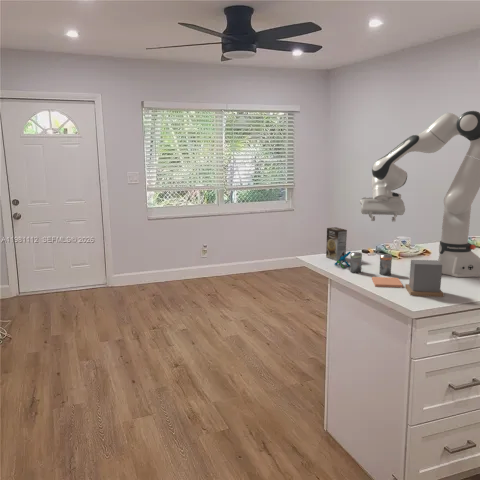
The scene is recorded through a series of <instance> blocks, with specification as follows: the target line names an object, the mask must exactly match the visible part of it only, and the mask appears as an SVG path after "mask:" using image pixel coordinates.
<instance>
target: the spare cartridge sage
mask: <svg viewBox="0 0 480 480" xmlns="http://www.w3.org/2000/svg"><path fill="white" fill-rule="evenodd" d="M349 255H350V256H349V257H350V263H349V265H350V267H349V268H350V270H349V272H350V274H351V273H352V274H361V273H362V261H363V260H362V259H363V253H362V252H358V251H353V252H351V253H350V254H349Z"/></svg>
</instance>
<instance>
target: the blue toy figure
mask: <svg viewBox="0 0 480 480" xmlns="http://www.w3.org/2000/svg"><path fill="white" fill-rule="evenodd" d="M351 253H352V252H351V251H348V252H346V254H345V255H344V256H343V257H342V256H341V258H340V259H339V260H338V261H336V262H334V266H337V265H339V266H341V268H342V269H345V266H344V265H343V263H344V264H346V265H347V266H348V267H349V266H350V263H348V261H347V259H345V257H346V258H347V257H348V256H349V255H351ZM349 268H350V267H349Z"/></svg>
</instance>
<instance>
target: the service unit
mask: <svg viewBox="0 0 480 480" xmlns="http://www.w3.org/2000/svg"><path fill="white" fill-rule="evenodd" d="M409 269H410V270H409V281H408V282H409V283H405V286H404V287H405V290H406V291H407V292H408V294H409V296H411V295H415V297H435V298H436V297H437V298H438V297H440V298H443V297H444V292H443V291H442V289H441V286H442V285H441V284H442V264H441V263H440V262H439V261H438V259H437V260H435V259H411V260H410V267H409Z"/></svg>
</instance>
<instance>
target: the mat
mask: <svg viewBox="0 0 480 480" xmlns="http://www.w3.org/2000/svg"><path fill="white" fill-rule="evenodd" d="M371 280H372V282H373V285H374V287H375V288H376V287H378V288H379V287H381V288H382V287H383V288H400V287H404V285H403V284H402V281H401V280H400V279H399V277H389V276H387V277H385V276H383V277H382V276H372V277H371Z"/></svg>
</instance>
